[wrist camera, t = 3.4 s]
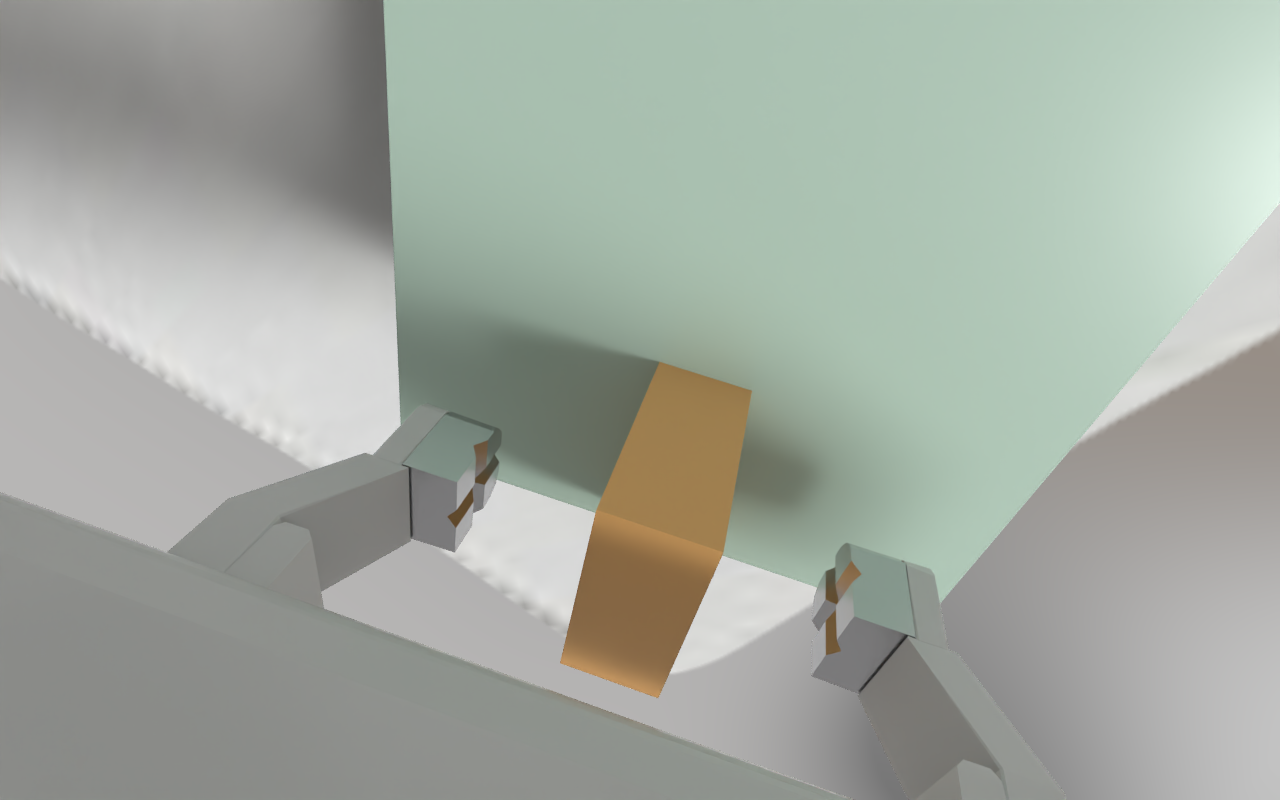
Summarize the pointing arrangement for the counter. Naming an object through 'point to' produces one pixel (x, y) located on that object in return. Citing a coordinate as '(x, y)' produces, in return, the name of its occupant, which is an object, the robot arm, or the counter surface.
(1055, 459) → the lid
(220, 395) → the counter surface
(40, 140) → the counter surface
